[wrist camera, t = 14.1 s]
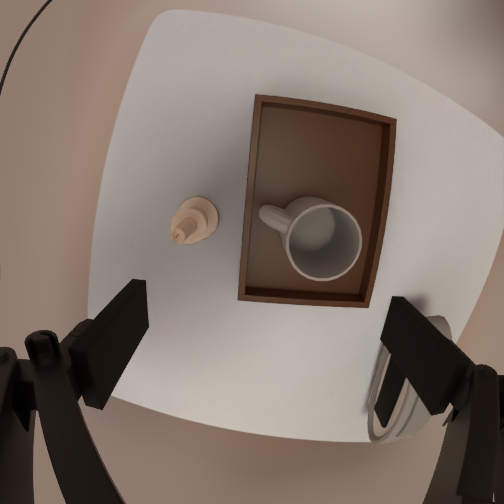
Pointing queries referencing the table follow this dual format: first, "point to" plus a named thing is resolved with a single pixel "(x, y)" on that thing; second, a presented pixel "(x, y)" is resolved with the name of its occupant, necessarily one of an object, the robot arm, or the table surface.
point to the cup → (316, 236)
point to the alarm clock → (397, 398)
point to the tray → (314, 194)
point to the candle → (194, 221)
